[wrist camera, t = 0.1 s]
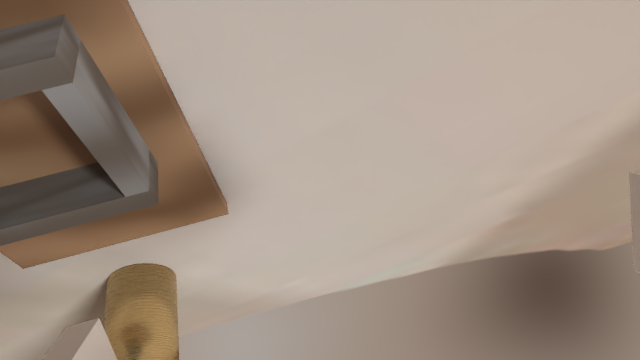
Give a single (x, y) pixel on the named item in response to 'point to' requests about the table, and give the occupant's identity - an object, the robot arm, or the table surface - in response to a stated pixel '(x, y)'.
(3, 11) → the wooden board with frame
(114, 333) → the brass fitting
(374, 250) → the table surface
